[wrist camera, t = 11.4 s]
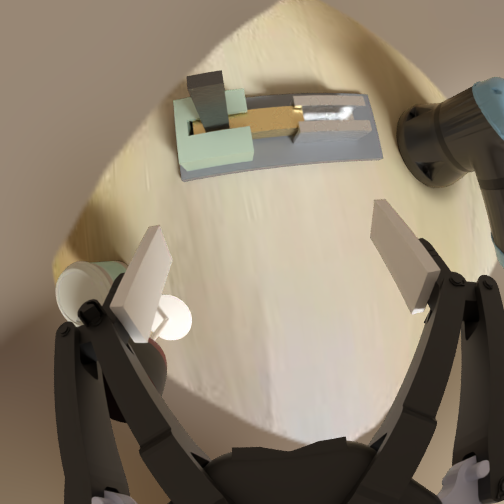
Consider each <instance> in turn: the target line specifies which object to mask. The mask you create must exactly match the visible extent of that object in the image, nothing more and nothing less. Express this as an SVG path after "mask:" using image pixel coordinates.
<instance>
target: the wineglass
mask: <svg viewBox="0 0 504 504" xmlns="http://www.w3.org/2000/svg"><path fill="white" fill-rule="evenodd" d="M191 324H192V317H191V313H190V311H189V308H188V307H187V305H186V304H185V303H184V302H183V301H182V300H180V299H179V298H177V297H175V296H172V295H161V298H160V301H159V304H158V308H157V311H156V314H155V318H154V321H153V325H152V328H151V330H152V331H153V332H154V333H153V334H152V335H151V337H150V338H149V339H148V343H135V342H134V341H133V340H132V338H131V337H129V340H128V343H129V344H130V346H131V347H132V349H133V351H134V353H135V355H136V356H137V358H138V360H139V362H140V363H141V365H142V367H143V368H144V370H145V372H146V373H147V375H148V377H149V378H150V380H151V382H152V383H153V385H154V386H155V388H156V389H157V391H158V393H159V394H160V396H161V397H162V393H163V390H164V386H165V382H166V375H167V362H166V357H165V354H164V352H163V350H162V349H161V347H160V346H159V345H158V343H156V342H155V340H156V338H157V337H158V336H159V337H160V338H163V339H166V340H177V339H180V338H182V337H184V336H185V335H186V334H187V333H188V332H189V330H190V328H191ZM102 376H103V383H104V389H105V395H106V401H107V406H108V412H109V416H110V418H111V419H113V420H116V421H119V422H124V423H127V422H126V420H125V418H124V416H123V414H122V412H121V410H120V408H119V406H118V404H117V402H116V400H115V398H114V396H113V394H112V392H111V390H110V387H109V385H108V383H107V381H106V378H105V376H104V374H103V371H102Z"/></svg>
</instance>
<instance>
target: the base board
mask: <svg viewBox="0 0 504 504" xmlns="http://www.w3.org/2000/svg"><path fill="white" fill-rule="evenodd" d="M310 95H341V96H363V98H364V101H365V105H366V106H365V107H356V108H355V109H354V110H353V111H352V113H353V117H354V120H370V124H371V128H372V131H371V132H369V133H368V134H366V135H365V136H363V137H362V138H360V139H359V140H357V141H328V142H311V143H298V144H293V140H292V135H290V136H279V137H269V138H260V139H252V141H253V148H254V155H253V161H247V162H240V163H233V164H227V165H221V166H215V167H209V168H203V169H197V170H192V171H187V170H186V169H184V168H183V167H182V166H181V165H180V171H181V179H182V181H183V182H186V181H191V180H196V179H202V178H208V177H214V176H220V175H226V174H232V173H239V172H246V171H253V170H261V169H269V168H277V167H286V166H295V165H306V164H317V163H330V162H346V161H366V160H380V159H383V154H382V150H381V145H380V140H379V136H378V132H377V128H376V124H375V120H374V116H373V112H372V109H371V105H370V102H369V98H368V95H366V94H347V93H301V94H281V95H268V96H257V97H248V98H245V99H246V105H247V110H250V109H259V108H270V107H282V106H289V105H290V102H291V100H292V97H293V96H310Z"/></svg>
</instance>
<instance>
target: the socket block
mask: <svg viewBox="0 0 504 504" xmlns="http://www.w3.org/2000/svg"><path fill="white" fill-rule="evenodd" d="M225 98H226V105H227V112H228V115H230V114H237V113H244V112H247V105H246V99H245V93H244V88H243V89H235V90H227V91H225ZM173 103H174V117H175V128H176V139H177V149H178V159H179V164H180V165H181V166H182V167H183V168H184V169H186V170H187V171H192V170H197V169H203V168H209V167H215V166H221V165H227V164H233V163H240V162H247V161H253V155H254V148H253V141H252V135H251V129H250V126H246V127H239V128H232V129H225V130H219V131H213V132H207V133H202V134H196V135H194V130H193V121H194V120H200V117H199V115H198V113H197V110H196V108H195V105H194V103H193V101H192V98H191V97H187V98H183V99H178V100H174V101H173Z"/></svg>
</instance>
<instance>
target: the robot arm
mask: <svg viewBox="0 0 504 504" xmlns="http://www.w3.org/2000/svg"><path fill="white" fill-rule="evenodd" d="M397 141H398V146H399V150H400V153H401V155H402V158H403V160H404V162H405V164H406V165H407V167H408V169H409V170H410V171H411V173H412V174H413V175H414V176H415V177H416V178H417V179H418V180H419V181H420V182H422V183H423V184H425V185H427V186H430V187H433V188H440V187H447V186H450V185H452V184H454V183H455V182H457V181H458V180H459V179H461V178H462V177H463V176H464V175H466V174H467V173H468V172H473V171H475V173H476V176H477V179H478V182H479V185H480V189H481V192H482V196H483V199H484V203H485V207H486V211H487V215H488V219H489V223H490V228H491V238H492V242H493V244H494V247H495V251H496V256H497V259H498V261H499V263H500V264H501V266H502V267H503V268H504V79H503V78H500V77H492V78H490V79H487V80H485V81H482V82H476V83H475V84H474V85H473V86H472V87H470V88H468V89H467V90H465V91H463V92H461V93H459V94H457V95H455V96H453V97H451V98H449V99H447V100H445V101H444V102H442V103H434V104H419V105H415V106H413V107H411V108H410V109H408V110H407V111H405V112H404V113H403V114H402V116H401V117H400V119H399V122H398V126H397ZM370 238H371V240H372V241H373V243H374V245H375V246H376V248H377V250H378V252H379V253H380V255H381V257H382V259H383V260H384V262H385V264H386V266H387V268H388V269H389V271H390V273H391V275H392V277H393V279H394V281H395V282H396V284H397V286H398V288H399V290H400V292H401V294H402V296H403V298H404V300H405V302H406V304H407V306H408V308H409V310H410V312H411V314H415V313H419V312H424V310H425V307H426V305H427V303H428V305H429V307H430V311H429V313H428V315H427V317H426V319H425V321H424V323H425V326H424V329H423V332H422V335H421V338H420V341H419V344H418V346H417V349H416V352H415V354H414V357H413V359H412V362H411V364H410V367H409V369H408V372H407V374H406V376H405V379H404V381H403V383H402V385H401V388H400V390H399V392H398V394H397V396H396V398H395V400H394V402H393V404H392V406H391V408H390V410H389V412H388V414H387V416H386V418H385V420H384V422H383V424H382V425H381V427H380V429H379V430H378V431H377V433H376V434H375V435H374V437H373V438H372V440H371V441H370V443H369V445H368V446H367V445H364V444H362V443H358V442H353V441H346V437H340V438H335V439H330V440H324V441H318V442H315V443H313V444H310V445H307V446H305V447H302V448H299V449H297V450H294V451H281V450H274V449H268V448H262V447H250V448H249V447H246V448H232V452H230V453H227V454H224V455H221V456H219V457H217V458H215V459H214V460H211V459H210V458H209V457H208V456H207V455H206V454H205V453H204V452H203V451H202V450H201V449H200V448H199V447H198V446H197V445H196V444H195V442H194V441H193V440H192V439H191V437H190V436H189V435H188V433H187V432H186V431H185V430H184V428H183V427H182V426H181V424H180V423H179V422H178V420H177V419H176V417H175V416H174V415H173V413H172V412H171V410H170V409H169V408H168V406H167V404H166V403H165V402H164V400H163V399H162V397H161V396H160V394H159V393H158V391H157V389H156V388H155V386H154V385H153V383H152V382H151V380H150V378H149V377H148V375H147V373H146V372H145V370H144V368H143V367H142V365H141V363H140V362H139V360H138V358H137V356H136V355H135V353H134V351H133V349H132V347H131V346H130V344H129V343H128V340H129V337H131V338H132V340H133V341H134V342H135V343H148V339H149V335H150V332H151V328H152V325H153V321H154V318H155V314H156V311H157V308H158V304H159V301H160V298H161V294H162V291H163V288H164V285H165V282H166V279H167V276H168V272H169V269H170V266H171V263H172V261H173V259H172V257H171V254H170V252H169V249H168V246H167V244H166V241H165V238H164V236H163V233H162V230H161V227H160V225H157V226H151V227H148V229H147V231H146V233H145V235H144V237H143V238H142V240H141V242H140V244H139V246H138V248H137V250H136V252H135V254H134V256H133V258H132V260H131V262H130V264H129V266H128V268H127V270H126V272H125V273H120V274H119V276H118V277H117V278H116V279H115V280H114V282H113V284H112V286H111V287H112V288H110V290H109V293H108V295H107V297H106V299H105V301H104V303H103V305H102V306H101V304H100V303H99V302H98V300H95V299H91V300H88V301H86V302H85V303H83V304H82V305H81V307H80V308H79V310H78V312H77V313H78V317H79V319H80V320H81V321H82V323H83V324H84V325H81V326H78V327H76V326H75V325H74V323H73V322H70V321H68V322H65V323H63V324H62V325H61V326H60V327H59V328H58V330H57V332H56V339H55V357H54V394H55V412H56V424H57V433H58V441H59V448H60V454H61V460H62V465H63V470H64V475H65V489H64V504H137V503H136V502H135V500H134V499H133V498H131V497H130V493H129V488H128V483H127V480H126V476H125V473H124V470H123V467H122V463H121V460H120V457H119V454H118V450H117V446H116V443H115V438H114V434H113V430H112V426H111V421H110V416H109V412H108V406H107V401H106V395H105V389H104V383H103V376H102V371H103V374H104V376H105V378H106V381H107V383H108V385H109V387H110V390H111V392H112V394H113V396H114V398H115V400H116V402H117V404H118V406H119V408H120V410H121V412H122V414H123V416H124V418H125V420H126V422H127V424H128V425H129V427H130V429H131V431H132V433H133V434H134V436H135V438H136V440H137V441H138V443H139V445H140V450H139V453H140V456H141V457H142V459H143V461H144V462H145V464H146V466H147V467H148V469H149V470H150V472H151V473H152V475H153V476H154V478H155V479H156V480H157V482H158V483H159V485H160V486H161V488H162V489H163V490H164V492H165V493H166V494H167V496H168V497H169V498H170V499H171V501H170V502H169V503H168V504H492V503H497V502H500V501H503V500H504V309H503V304H502V300H501V296H500V292H499V288H498V285H497V283H496V281H495V280H494V279H493V278H491V277H490V276H487V275H482V276H480V277H479V279H478V281H477V283H476V282H467V281H466V280H465V278H464V277H463V276H462V275H460V274H458V273H456V272H451V271H450V269H449V268H448V267H447V265H446V264H445V262H444V261H443V260H442V258H441V257H440V256H439V254H438V253H437V252H436V251H435V249H434V248H433V246H432V245H431V244H430V243H429V242H428V241H426V240H425V239H423V238H420V239H418V238H417V237H416V236H415V234H414V233H413V232H412V231H411V229H410V228H409V227H408V226H407V224H406V223H405V222H404V221H403V219H402V218H401V217H400V216H399V215H398V213H397V212H396V211H395V210H394V209H393V208H392V206H391V205H390V204H389V203H388V202H387V201H386V199H381V200H374V209H373V218H372V227H371V235H370ZM460 330H461V350H462V371H461V372H462V373H461V393H460V406H459V415H458V422H457V430H456V436H455V442H454V449H453V459H452V467H451V468H450V469H449V471H448V472H447V474H446V475H445V477H444V478H443V480H442V485H443V487H442V490H441V491H440V492H439V493H438V495H437V496H436V495H435V494H434V493H432V492H431V491H429V490H428V489H426V488H425V487H424V486H422V485H421V484H419V483H418V482H416V481H415V480H414V479H412V477H413V475H414V473H415V471H416V469H417V467H418V465H419V464H420V461H421V459H422V457H423V456H424V454H425V452H426V449H427V447H428V445H429V443H430V441H431V438H432V436H433V434H434V431H435V429H436V426H437V421H436V419H435V417H436V414H437V411H438V408H439V406H440V403H441V400H442V397H443V394H444V391H445V388H446V385H447V382H448V379H449V375H450V372H451V368H452V364H453V360H454V357H455V353H456V349H457V344H458V339H459V335H460Z"/></svg>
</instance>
